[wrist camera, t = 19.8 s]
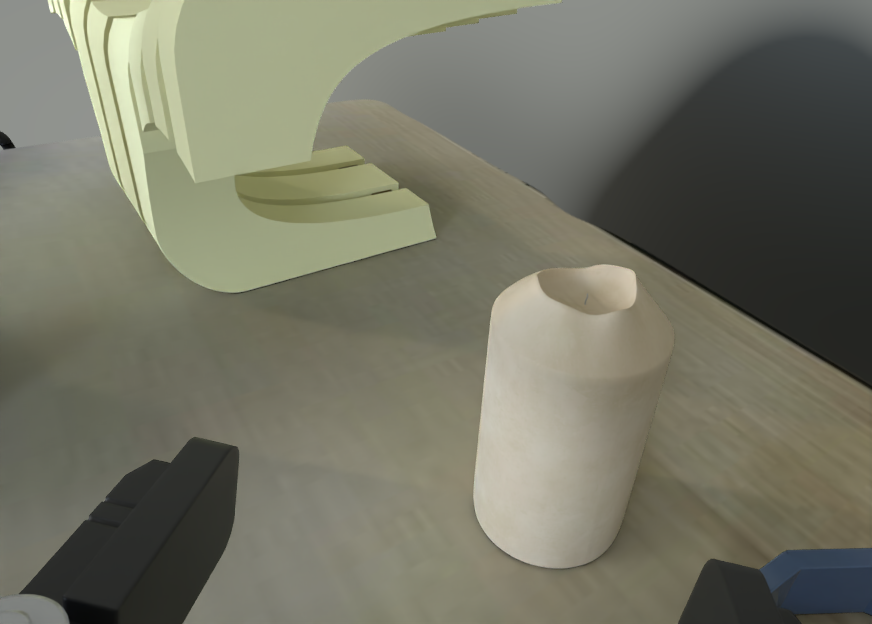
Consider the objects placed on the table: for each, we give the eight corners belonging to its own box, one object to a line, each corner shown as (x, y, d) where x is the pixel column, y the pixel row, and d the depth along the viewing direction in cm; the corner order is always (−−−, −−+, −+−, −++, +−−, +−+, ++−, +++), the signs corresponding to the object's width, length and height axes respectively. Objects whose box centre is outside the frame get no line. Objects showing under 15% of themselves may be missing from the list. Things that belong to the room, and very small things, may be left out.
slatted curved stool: (90, 165, 50) (14, -126, 40) (295, 130, 57) (275, -122, 47) (233, 406, 30) (152, -64, 19) (522, 303, 37) (571, -75, 27)
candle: (573, 439, 29) (618, 225, 23) (650, 545, 24) (729, 315, 19) (450, 471, 27) (466, 247, 21) (510, 591, 23) (551, 352, 17)
